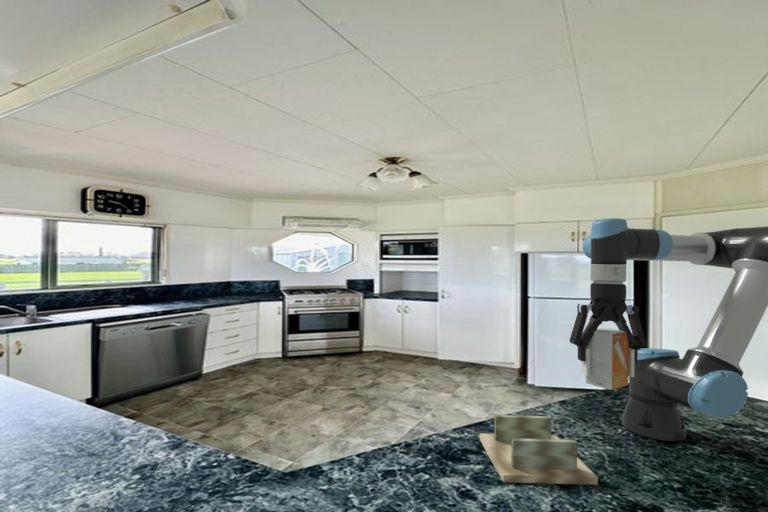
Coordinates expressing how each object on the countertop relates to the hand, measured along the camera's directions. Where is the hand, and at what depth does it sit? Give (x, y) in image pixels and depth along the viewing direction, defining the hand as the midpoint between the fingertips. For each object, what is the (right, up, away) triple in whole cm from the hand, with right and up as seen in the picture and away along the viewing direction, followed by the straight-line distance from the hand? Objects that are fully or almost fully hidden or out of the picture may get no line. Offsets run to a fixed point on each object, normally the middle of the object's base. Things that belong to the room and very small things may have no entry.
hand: (607, 375), depth 93 cm
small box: (0, -2, 0) cm, 2 cm away
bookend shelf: (-19, -20, -1) cm, 27 cm away
